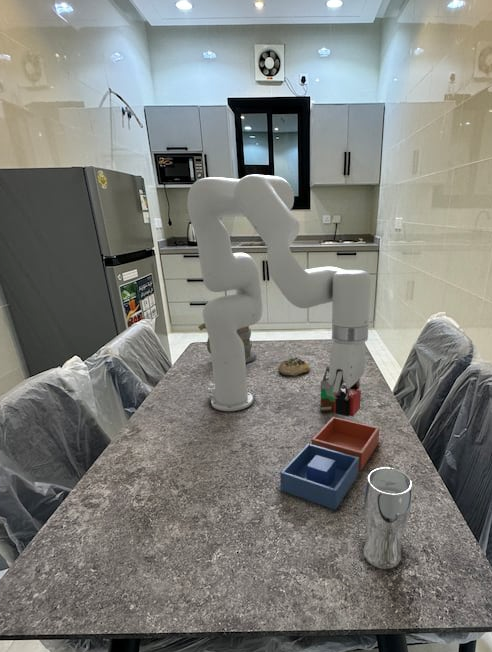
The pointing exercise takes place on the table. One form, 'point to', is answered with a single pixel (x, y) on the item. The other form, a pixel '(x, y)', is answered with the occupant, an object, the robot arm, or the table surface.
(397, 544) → the beer glass
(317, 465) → the blue block
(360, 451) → the red bin
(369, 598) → the table surface
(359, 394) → the red block
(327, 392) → the food container
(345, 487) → the blue bin
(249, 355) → the tankard
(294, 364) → the bread roll
